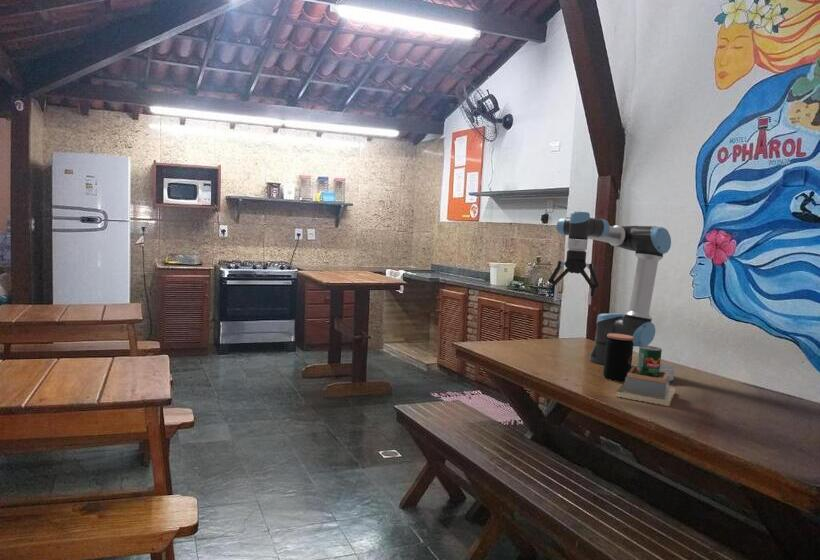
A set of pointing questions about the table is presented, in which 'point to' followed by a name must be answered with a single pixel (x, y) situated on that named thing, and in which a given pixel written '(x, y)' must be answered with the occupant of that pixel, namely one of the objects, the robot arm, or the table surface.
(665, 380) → the grey rectangular box
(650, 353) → the canned tomato
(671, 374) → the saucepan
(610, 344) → the coffee jar
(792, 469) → the table surface
